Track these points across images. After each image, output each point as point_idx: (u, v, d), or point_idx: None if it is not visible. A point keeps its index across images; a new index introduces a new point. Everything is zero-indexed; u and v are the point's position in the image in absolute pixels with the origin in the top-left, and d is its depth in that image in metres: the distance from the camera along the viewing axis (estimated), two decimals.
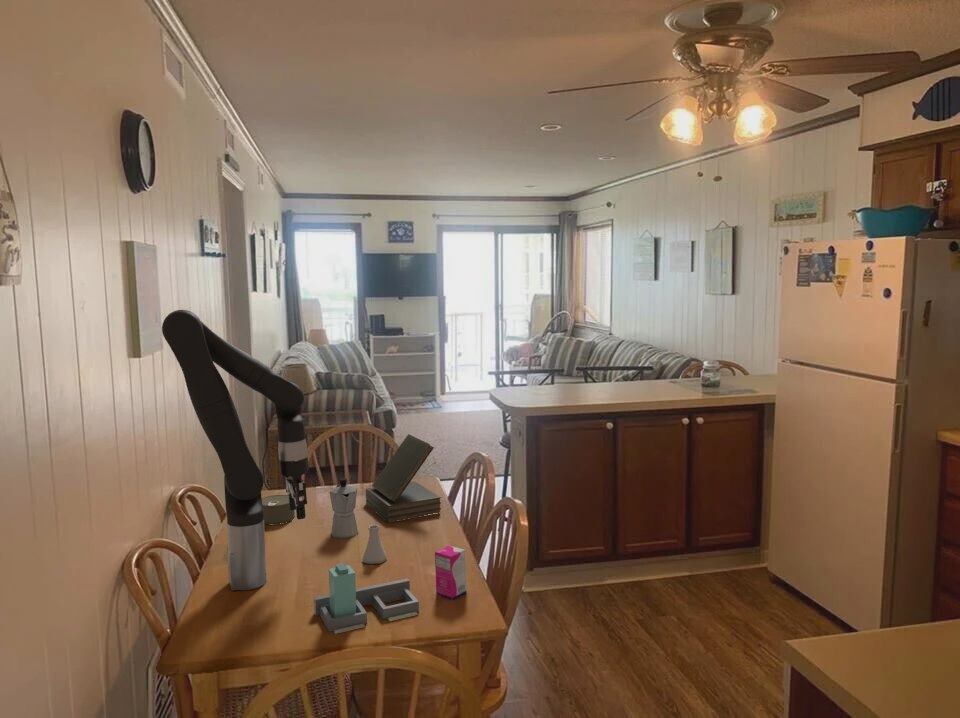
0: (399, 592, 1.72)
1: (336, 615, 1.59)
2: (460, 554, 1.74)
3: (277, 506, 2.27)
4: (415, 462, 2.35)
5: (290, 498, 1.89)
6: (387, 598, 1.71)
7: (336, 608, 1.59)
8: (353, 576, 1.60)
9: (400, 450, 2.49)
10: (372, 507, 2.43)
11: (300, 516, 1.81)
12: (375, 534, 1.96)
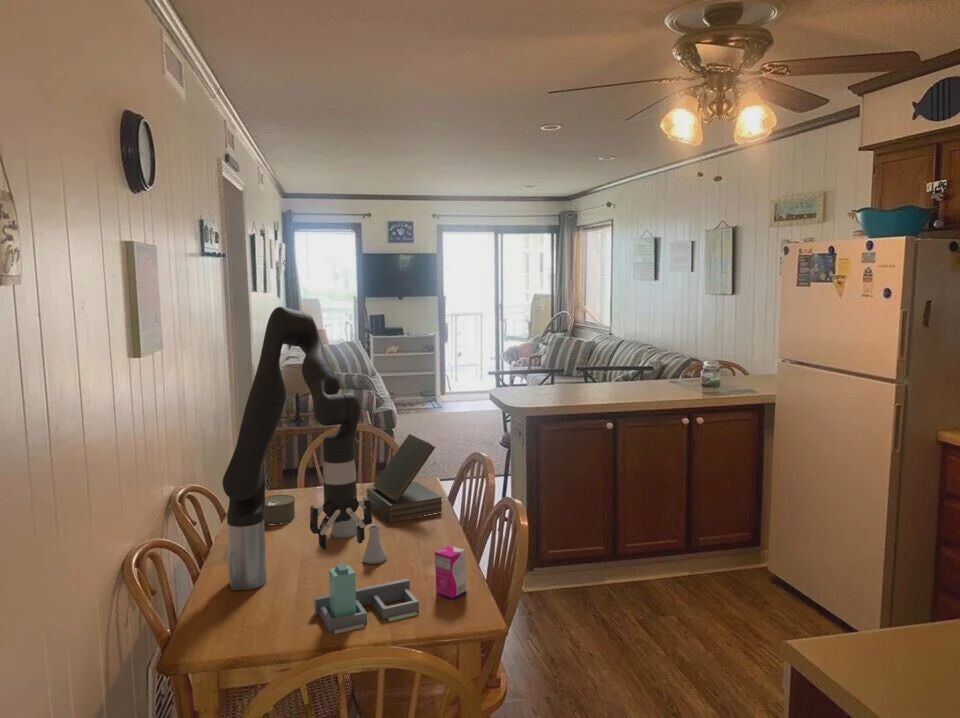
0: (399, 592, 1.72)
1: (336, 615, 1.59)
2: (460, 554, 1.74)
3: (277, 506, 2.27)
4: (416, 462, 2.35)
5: (325, 535, 1.58)
6: (387, 598, 1.71)
7: (336, 608, 1.59)
8: (353, 576, 1.60)
9: (401, 450, 2.49)
10: (373, 507, 2.43)
11: None
12: (375, 534, 1.96)
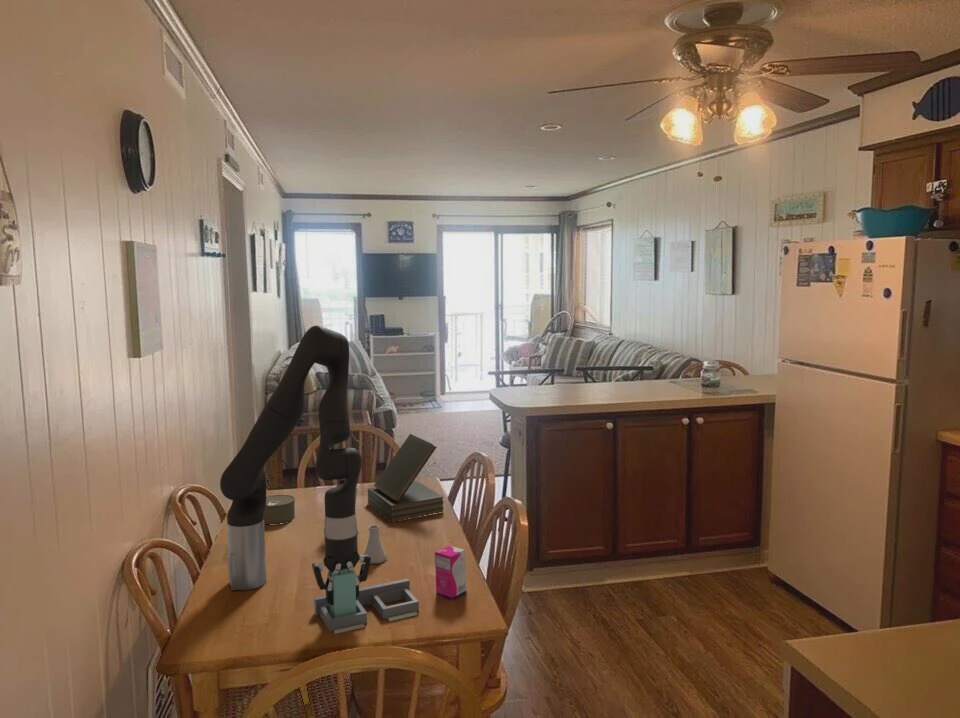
0: (399, 592, 1.72)
1: (336, 615, 1.59)
2: (460, 554, 1.74)
3: (277, 506, 2.27)
4: (418, 462, 2.35)
5: (332, 591, 1.60)
6: (387, 598, 1.71)
7: (336, 608, 1.59)
8: (353, 576, 1.60)
9: (401, 450, 2.49)
10: (374, 507, 2.43)
11: None
12: (375, 534, 1.96)
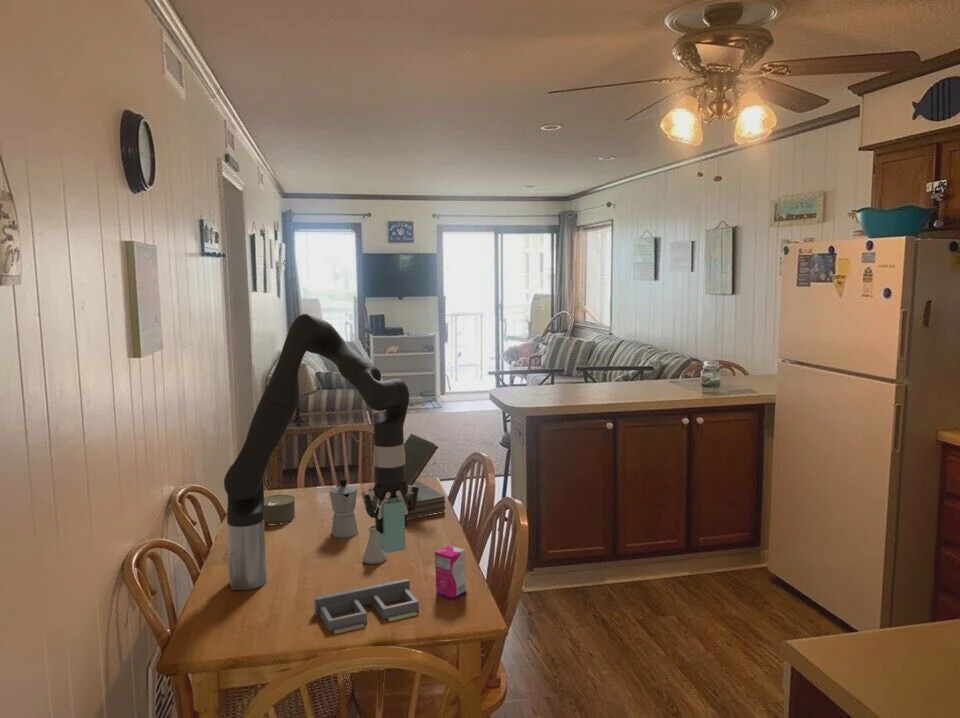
0: (399, 592, 1.72)
1: (386, 542, 1.63)
2: (460, 554, 1.74)
3: (277, 506, 2.27)
4: (420, 461, 2.36)
5: None
6: (387, 598, 1.71)
7: (386, 536, 1.63)
8: (402, 505, 1.64)
9: None
10: (376, 507, 2.43)
11: None
12: (375, 534, 1.96)
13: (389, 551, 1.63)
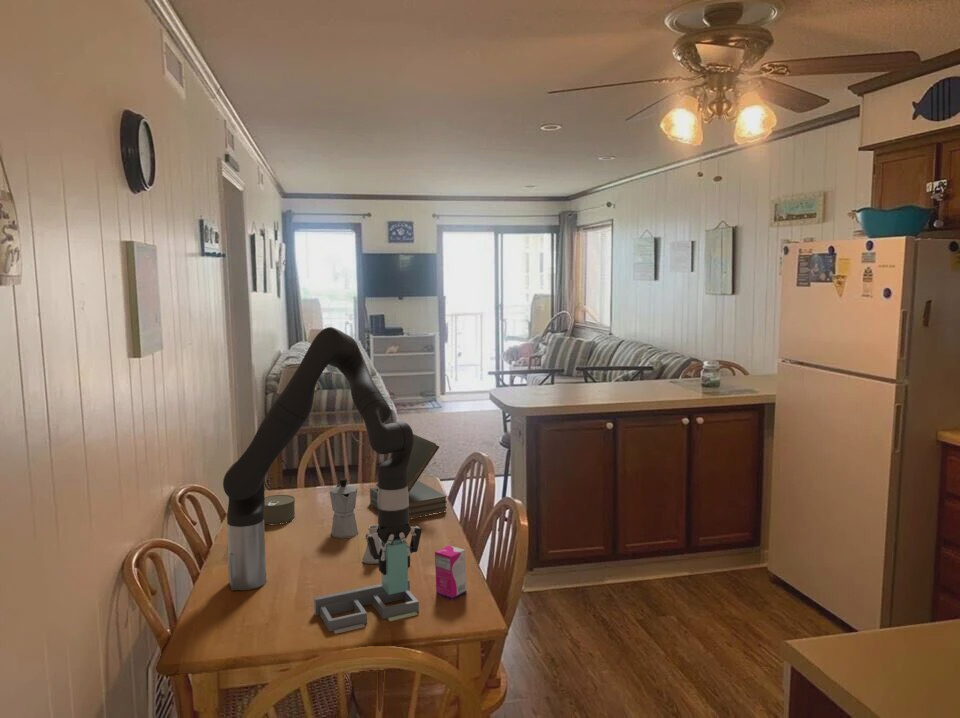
0: (399, 592, 1.72)
1: (389, 584, 1.64)
2: (460, 554, 1.74)
3: (277, 506, 2.27)
4: (421, 461, 2.36)
5: None
6: (387, 598, 1.71)
7: (389, 577, 1.64)
8: (405, 546, 1.65)
9: None
10: (377, 507, 2.43)
11: None
12: None
13: (392, 592, 1.65)
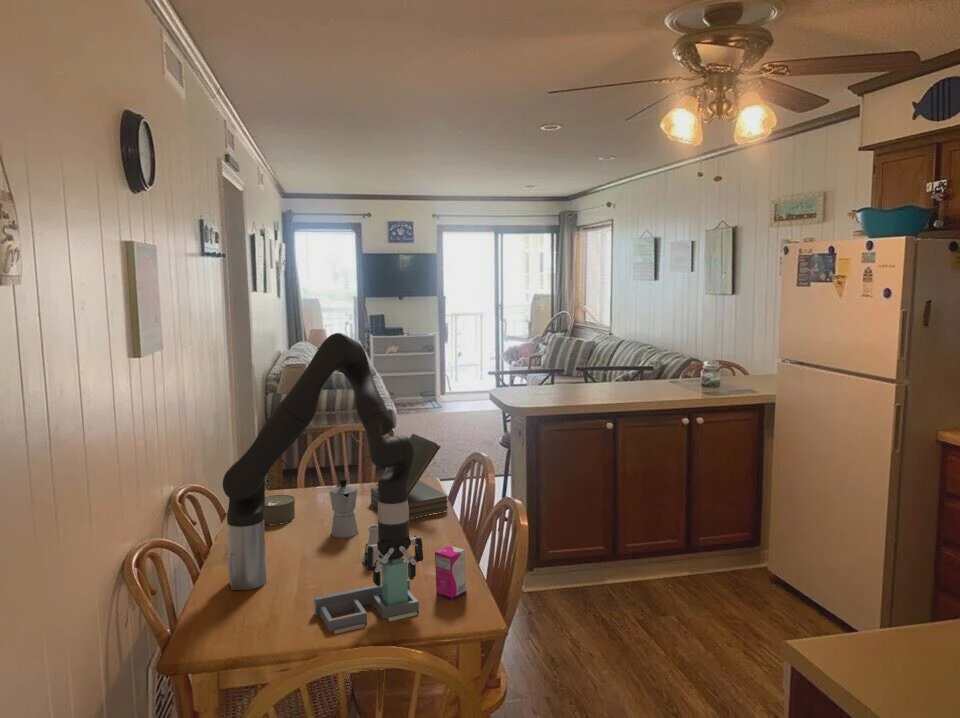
0: None
1: (389, 603, 1.65)
2: (460, 554, 1.74)
3: (277, 506, 2.27)
4: (422, 461, 2.36)
5: None
6: None
7: (389, 597, 1.65)
8: (405, 566, 1.66)
9: None
10: None
11: None
12: (375, 534, 1.96)
13: None
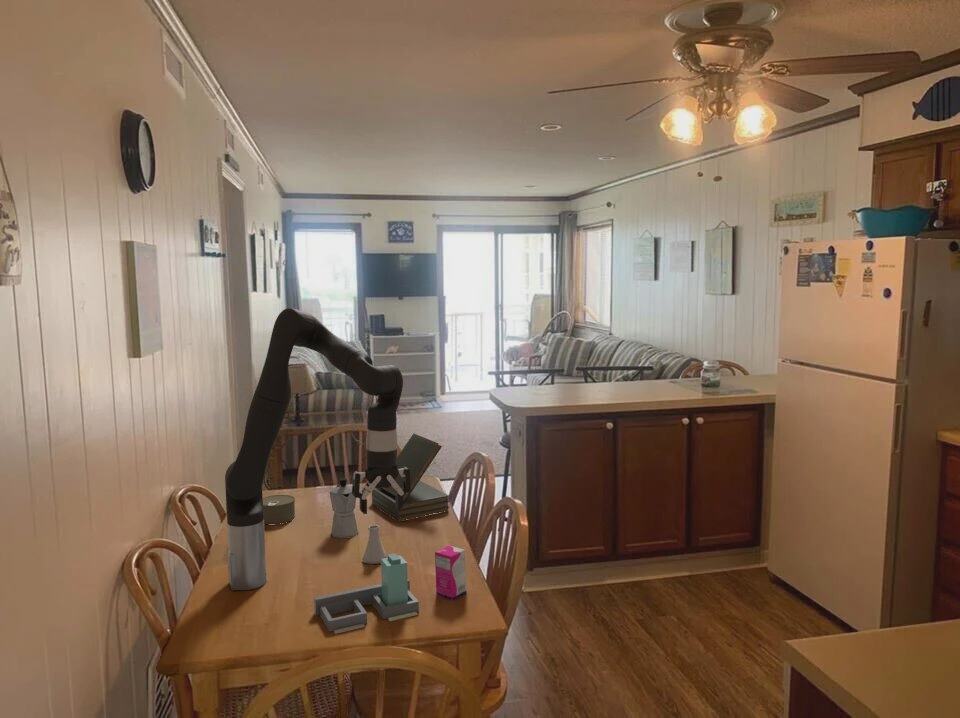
0: None
1: (389, 603, 1.65)
2: (460, 554, 1.74)
3: (277, 506, 2.27)
4: (424, 461, 2.36)
5: None
6: None
7: (389, 597, 1.65)
8: (405, 566, 1.66)
9: (405, 449, 2.50)
10: (379, 507, 2.43)
11: None
12: (375, 534, 1.96)
13: None
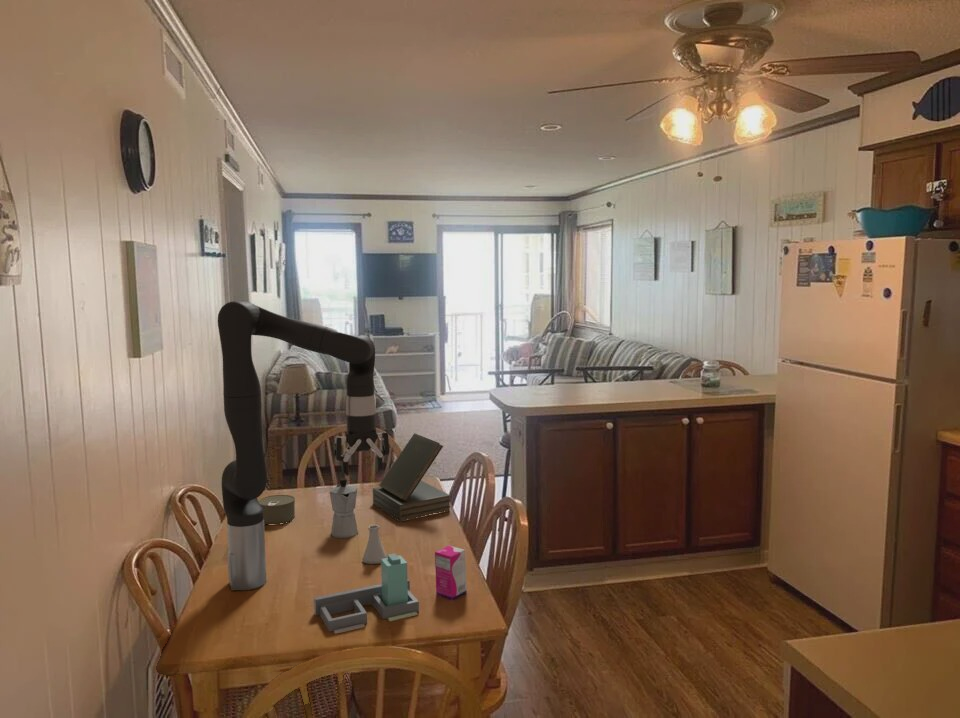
0: None
1: (389, 603, 1.65)
2: (460, 554, 1.74)
3: (277, 506, 2.27)
4: (425, 461, 2.36)
5: None
6: None
7: (389, 597, 1.65)
8: (405, 566, 1.66)
9: (406, 449, 2.50)
10: (381, 506, 2.43)
11: None
12: (375, 534, 1.96)
13: None
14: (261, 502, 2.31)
